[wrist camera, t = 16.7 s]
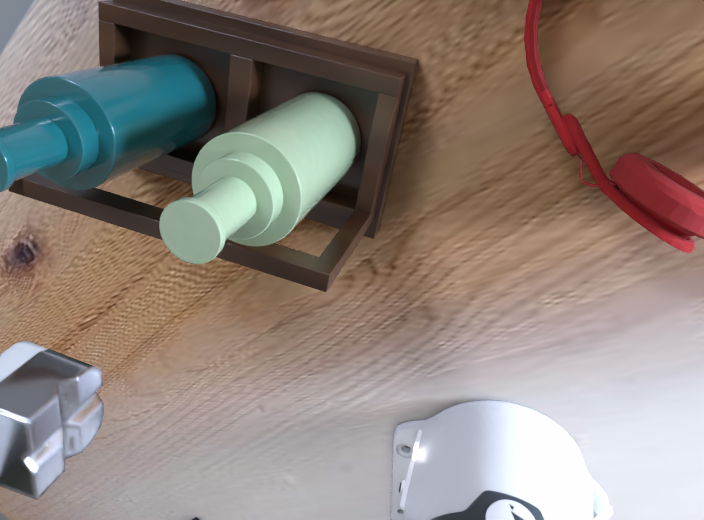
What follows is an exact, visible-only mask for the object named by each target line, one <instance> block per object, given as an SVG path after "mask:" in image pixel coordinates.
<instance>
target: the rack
mask: <svg viewBox="0 0 704 520" xmlns="http://www.w3.org/2000/svg"><path fill="white" fill-rule="evenodd" d="M99 50H100V66H105V65H111V64H116V63H121V62H126V61H131V60H136V59H142V58H147V57H152V56H157V55H162V54H177V55H181V56H183V57H186V58H188V59H190V60H191V61H193V62H194V63H195V64H197V65H198V66H199V67H200V68H201V69H202V70H203V72H204V73H205V74H206V76H207V77H208V79H209V81H210V83H211V85H212V87H213V90H214V93H215V98H216V113H215V118H214V121H213V124H212V126H211V128H210V129H209V131H208V132H207V133H206V134H205V135H204V136H203V137H201V138H200V139H198V140H196V141H194V142H192V143H190V144H188V145H185V146H183V147H181V148H179V149H177V150H175V151H172V152H170V153H168V154H166V155H164V156H162V157H160V158H157V159H155V160H153V161H151V162H149V163H147V164H144V165H142V166H140V167H138V168H140V169H143V170H147V171H150V172H153V173H157V174H160V175H163V176H167V177H170V178H173V179H177V180H180V181H183V182H187V183H190V184H192V170H193V166H194V162H195V160H196V157H197V155H198V154H199V152H200V150H201V149H202V148H203V147H204V146H205V144H207V143H208V142H209V141H210V140H212V139H213V138H215V137H217V136H219V135H221V134H223V133H225V132H226V131H228V130H230V129H232V128H234V127H236V126H238V125H240V124H242V123H244V122H246V121H248V120H250V119H252V118H254V117H256V116H258V115H260V114H262V113H264V112H266V111H268V110H270V109H272V108H274V107H276V106H278V105H280V104H282V103H284V102H286V101H287V100H289V99H291V98H293V97H295V96H298V95H300V94H303V93H308V92H320V93H325V94H328V95H330V96H332V97H335V98H336V99H338V100H339V101H341V102H342V103H343V104H344V105H345V106H346V107H347V108H348V109H349V110H350V111H351V113H352V114H353V116H354V117H355V119H356V121H357V124H358V127H359V131H360V137H361V146H360V152H359V156H358V158H357V160H356V162H355V164H354V166H353V167H352V168H351V169H350V171H349V172H348V173H347V174H346V175H345V176H344V177H343V178H342V179H341V180H340V181H339V182H338V183H337V184H336V185H335V186H334V187H333V188H332V189H331V190H330V191H329V192H328V193H327V194H326V195H325V196H324V198H323V199H322V200H321V201H320V202H319V203H318V204H317V205H316V206H315V207H314V208H313V209H312V210H311V211H310V212H309V213H308V214H307V215H306V216H305V217H304V218H306V219H310V220H313V221H316V222H320V223H323V224H326V225H330V226H333V227H336V228H340V230H339V232H338V233H337V234H336V236H335V237H334V239H333V240H332V241H331V243H330V244H329V245H328V247H327V248H326V249H325V251H324V252H323V253H322V255H321V256H320V257H317V256H313V255H310V254H307V253H304V252H301V251H297V250H294V249H291V248H288V247H284V246H281V245H278V244H275V243H273V244H270V245H266V246H246V245H242V244H239V243H236V242H233V241H231V240H229V239H227V240H226V241H225V244H224V247H223V249H222V251H221V252H220V253H219V254H218V255H217V256H216V257H218V258H221V259H224V260H227V261H230V262H233V263H236V264H240V265H243V266H246V267H249V268H252V269H255V270H258V271H262V272H265V273H268V274H271V275H274V276H277V277H280V278H283V279H287V280H290V281H293V282H296V283H299V284H302V285H305V286H309V287H312V288H315V289H318V290H321V291H324V292H327V291H328V289H329V288H330V286H331V284H332V283H333V281H334V280H335V278H336V277H337V275H338V274H339V272H340V271H341V269H342V267H343V266H344V264H345V263H346V261H347V260H348V258H349V257H350V255H351V254H352V252H353V251H354V249H355V248H356V246H357V244H358V243H359V241H360V240H361V238H362V237H363V236H366V237H370V238H373V239H374V238H375V236H376V234H377V233H378V231H379V227H380V223H381V219H382V214H383V210H384V206H385V201H386V197H387V193H388V188H389V184H390V180H391V175H392V171H393V167H394V163H395V158H396V154H397V150H398V145H399V141H400V137H401V132H402V128H403V124H404V119H405V115H406V111H407V106H408V102H409V98H410V94H411V89H412V85H413V81H414V76H415V72H416V68H417V63H418V60H417V59H413V58H409V57H405V56H401V55H397V54H393V53H389V52H385V51H381V50H377V49H373V48H369V47H365V46H361V45H357V44H353V43H349V42H345V41H341V40H337V39H333V38H329V37H325V36H321V35H317V34H313V33H309V32H305V31H301V30H297V29H293V28H289V27H285V26H281V25H277V24H273V23H269V22H265V21H261V20H257V19H253V18H249V17H245V16H241V15H237V14H233V13H229V12H224V11H220V10H216V9H212V8H208V7H204V6H200V5H196V4H192V3H188V2H184V1H180V0H106V1H99ZM9 191H11V192H14V193H17V194H20V195H23V196H26V197H29V198H33V199H36V200H39V201H42V202H45V203H48V204H51V205H55V206H58V207H61V208H64V209H67V210H70V211H73V212H77V213H80V214H83V215H86V216H89V217H92V218H95V219H98V220H102V221H105V222H108V223H111V224H114V225H117V226H120V227H124V228H127V229H130V230H133V231H136V232H139V233H142V234H146V235H149V236H152V237H155V238H158V239H161V240H163V239H162V237H161V234H160V229H159V222H160V217H161V214H162V212H163V210H164V209H162V208H159V207H155V206H152V205H149V204H146V203H142V202H139V201H136V200H133V199H130V198H126V197H123V196H120V195H117V194H113V193H110V192H107V191H104V190H101V189H97V188H92V189H88V190H73V189H69V188H66V187H63V186H60V185H58V184H57V183H55V182H53V181H52V180H50V179H48V178H45V177H43V176H41V175H39V174H38V173H35V174H32V175H29V176H27V177H24V178H21V179H19V180H16V181H14V182H13V184H12V185H11V186H10V187H9Z"/></svg>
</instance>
